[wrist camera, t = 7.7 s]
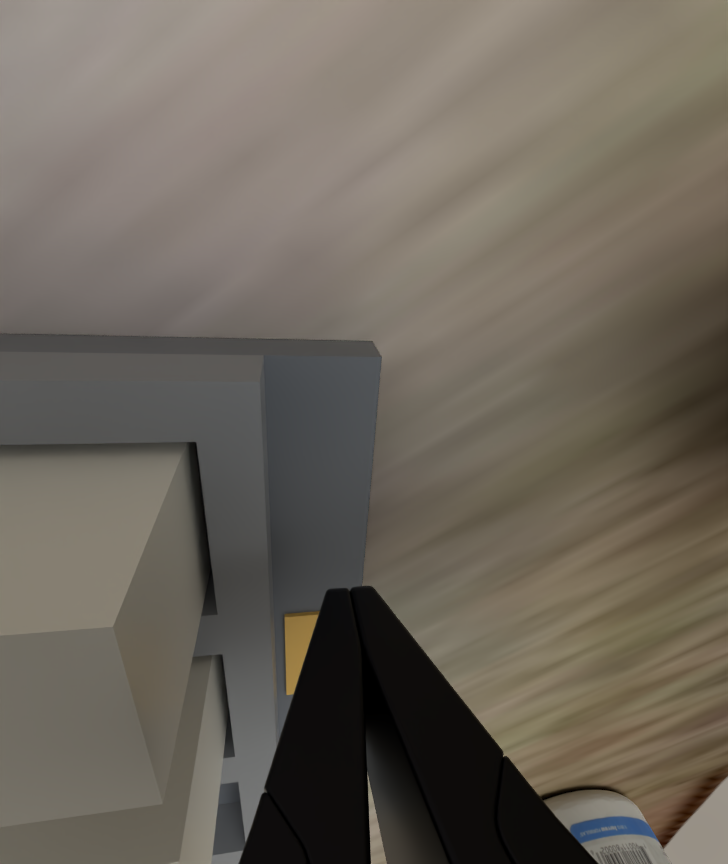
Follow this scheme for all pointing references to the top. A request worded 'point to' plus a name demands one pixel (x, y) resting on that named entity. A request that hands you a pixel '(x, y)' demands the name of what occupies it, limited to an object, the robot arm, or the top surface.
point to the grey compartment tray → (230, 493)
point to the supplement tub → (608, 827)
